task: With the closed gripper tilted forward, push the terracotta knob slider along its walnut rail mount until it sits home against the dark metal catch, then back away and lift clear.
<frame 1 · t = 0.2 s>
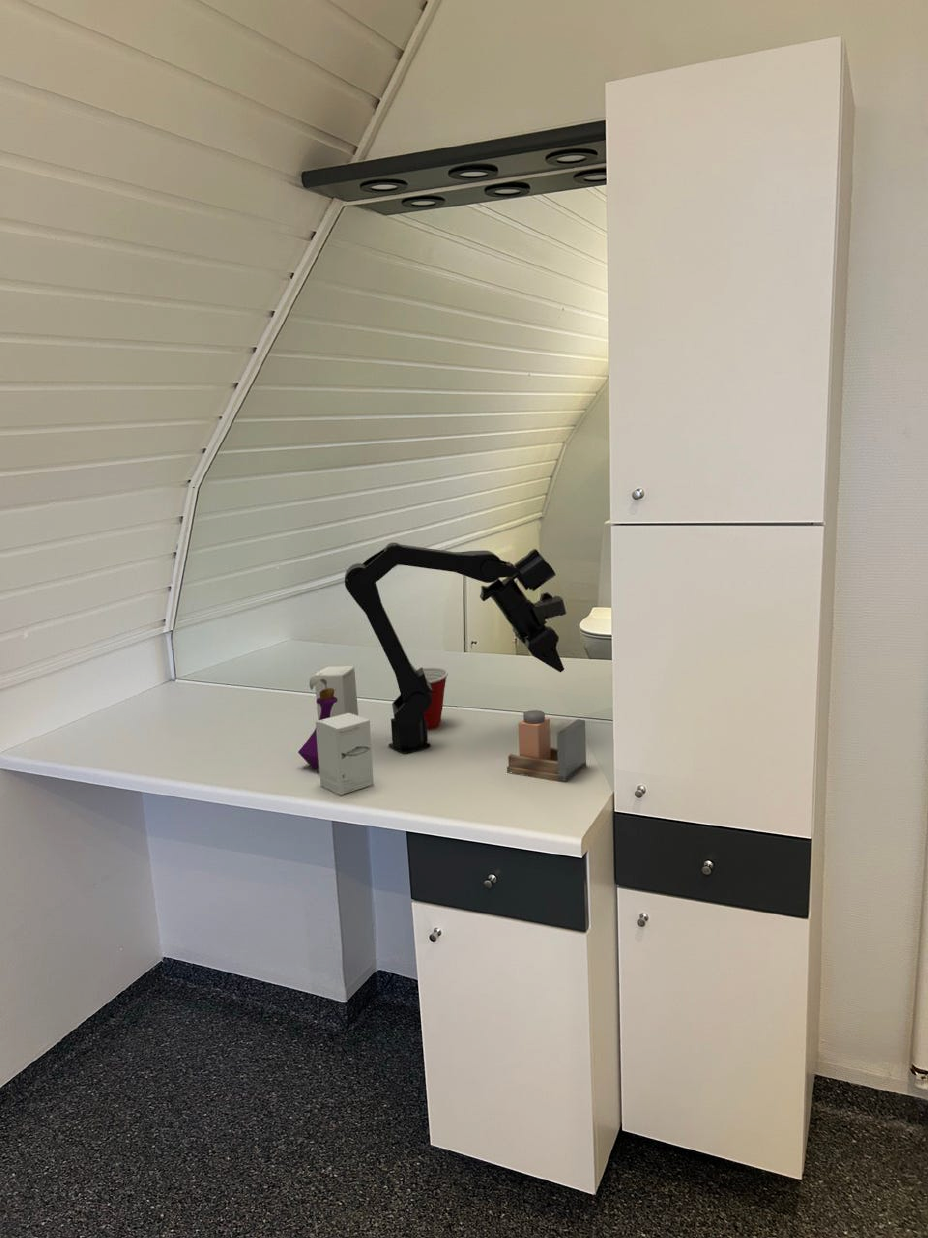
hand: (557, 665, 192), 15 cm above the worktop, tool tilted 35°, fingers open, 9 cm apart
knob slider: (534, 737, 175), point 6 cm above the worktop, slide at 0.0 cm
skincare box: (340, 742, 197), on the worktop
supplement box: (347, 786, 172), on the worktop
perfume bottle: (326, 767, 183), on the worktop
rail mount: (551, 770, 175), on the worktop
plastic cup: (425, 727, 204), on the worktop
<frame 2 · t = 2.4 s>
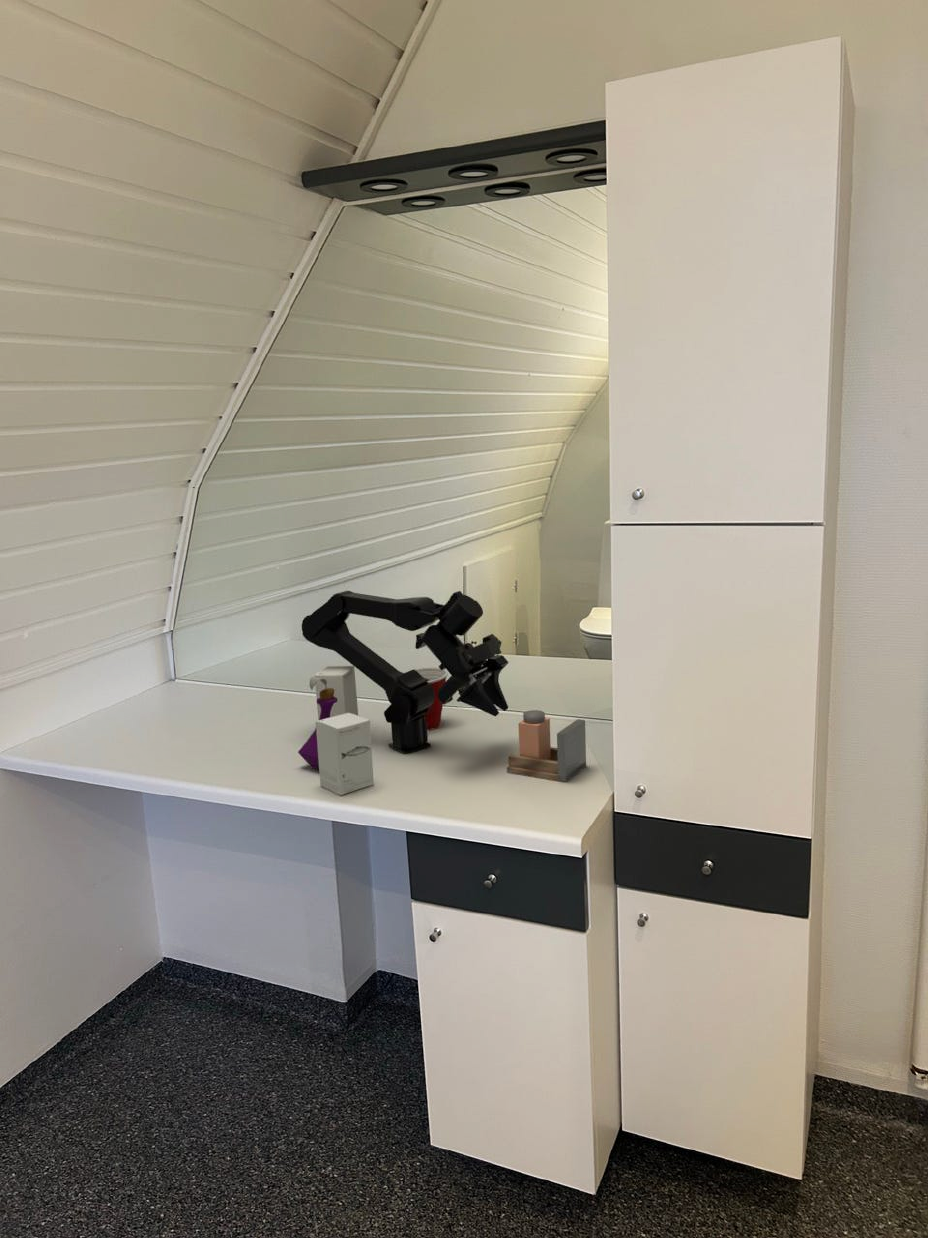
hand: (502, 712, 178), 10 cm above the worktop, tool tilted 45°, fingers open, 3 cm apart
skincare box: (339, 742, 197), on the worktop, touching arm
everything else where it was.
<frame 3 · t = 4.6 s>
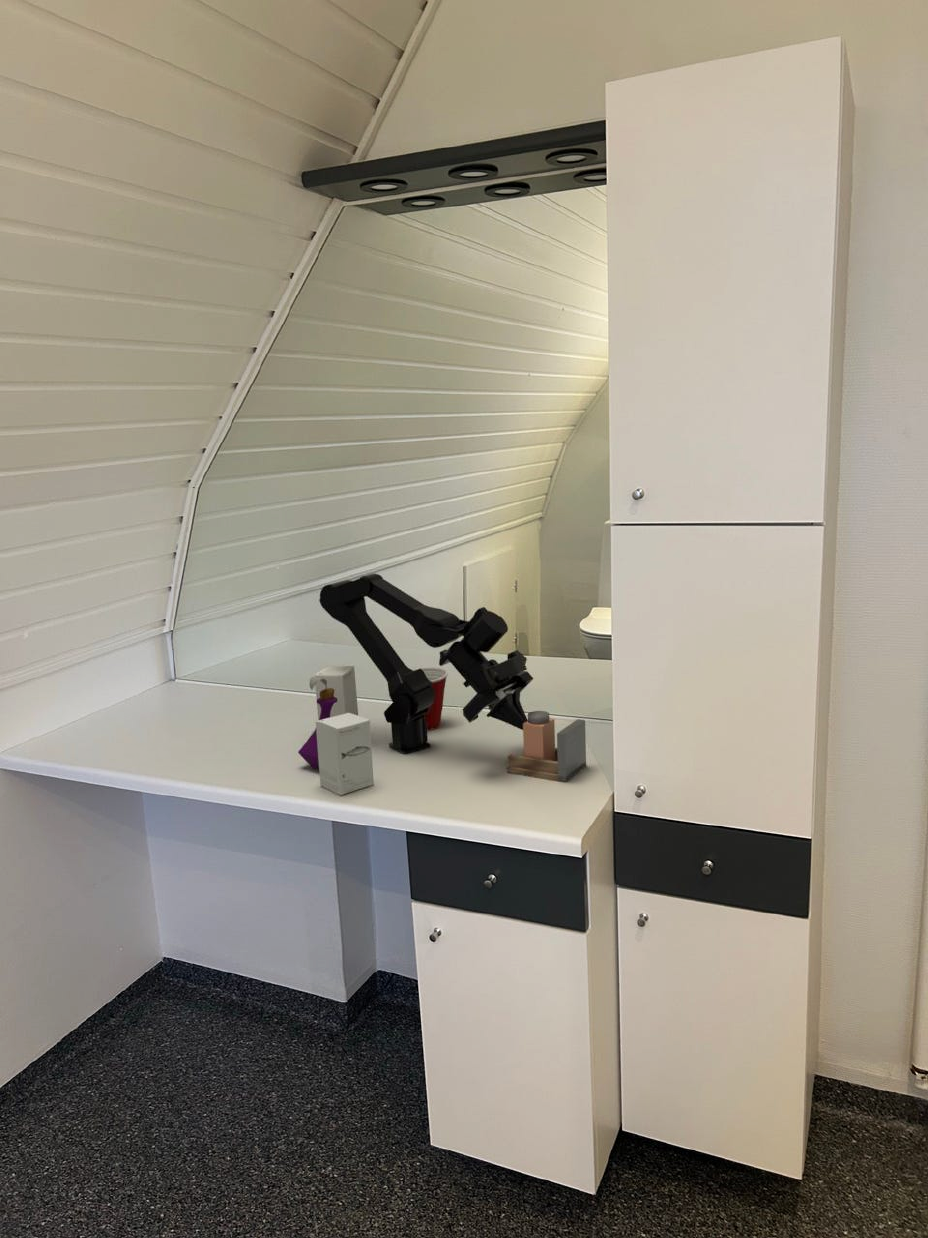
hand: (528, 729, 176), 7 cm above the worktop, tool tilted 45°, fingers closed, pressing on knob slider
knob slider: (539, 738, 175), point 6 cm above the worktop, slide at 0.9 cm, touching gripper
skincare box: (339, 742, 197), on the worktop
everything else where it was.
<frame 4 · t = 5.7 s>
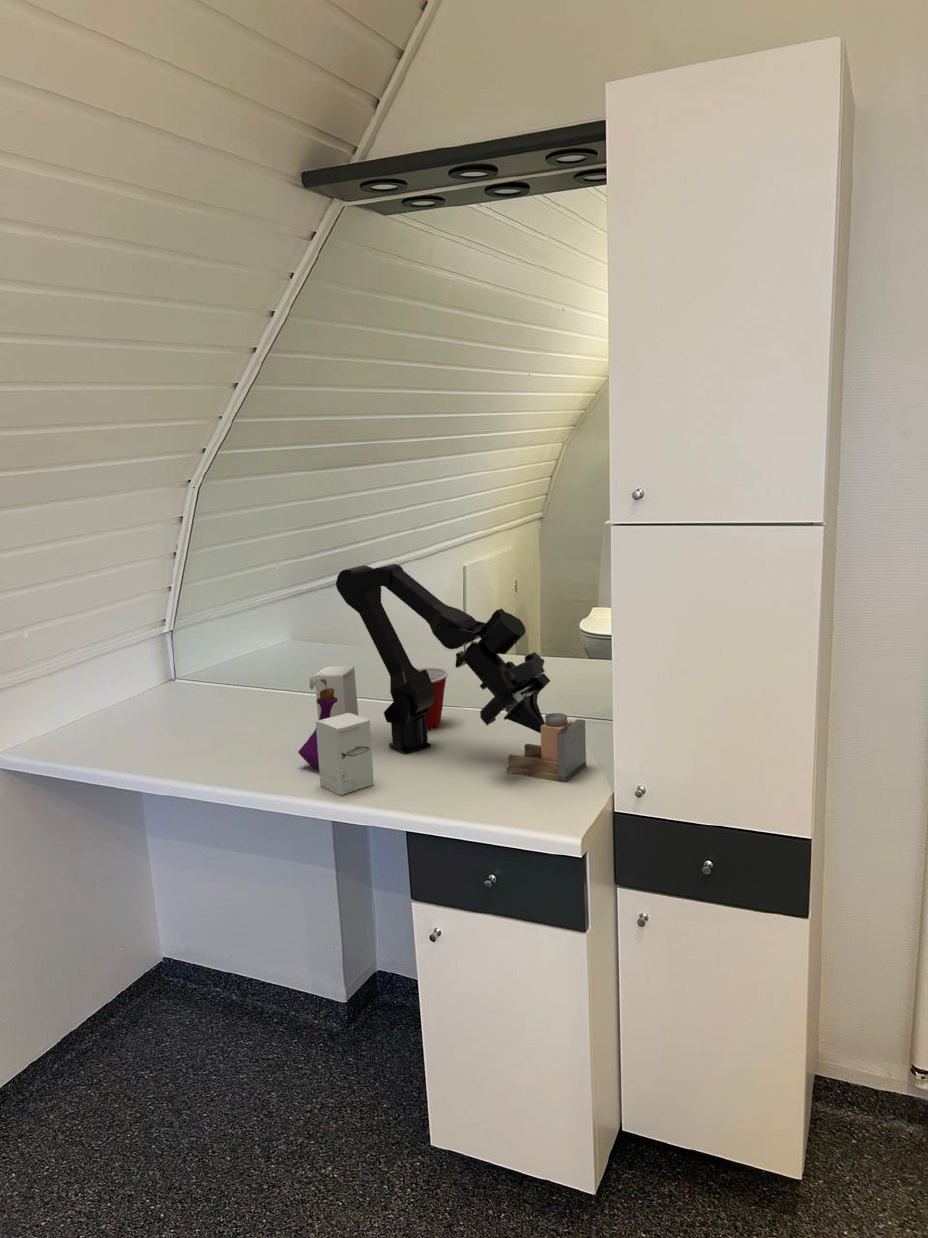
hand: (545, 732, 174), 7 cm above the worktop, tool tilted 45°, fingers closed, pressing on knob slider
knob slider: (556, 740, 173), point 6 cm above the worktop, slide at 4.6 cm, touching gripper
everything else where it was.
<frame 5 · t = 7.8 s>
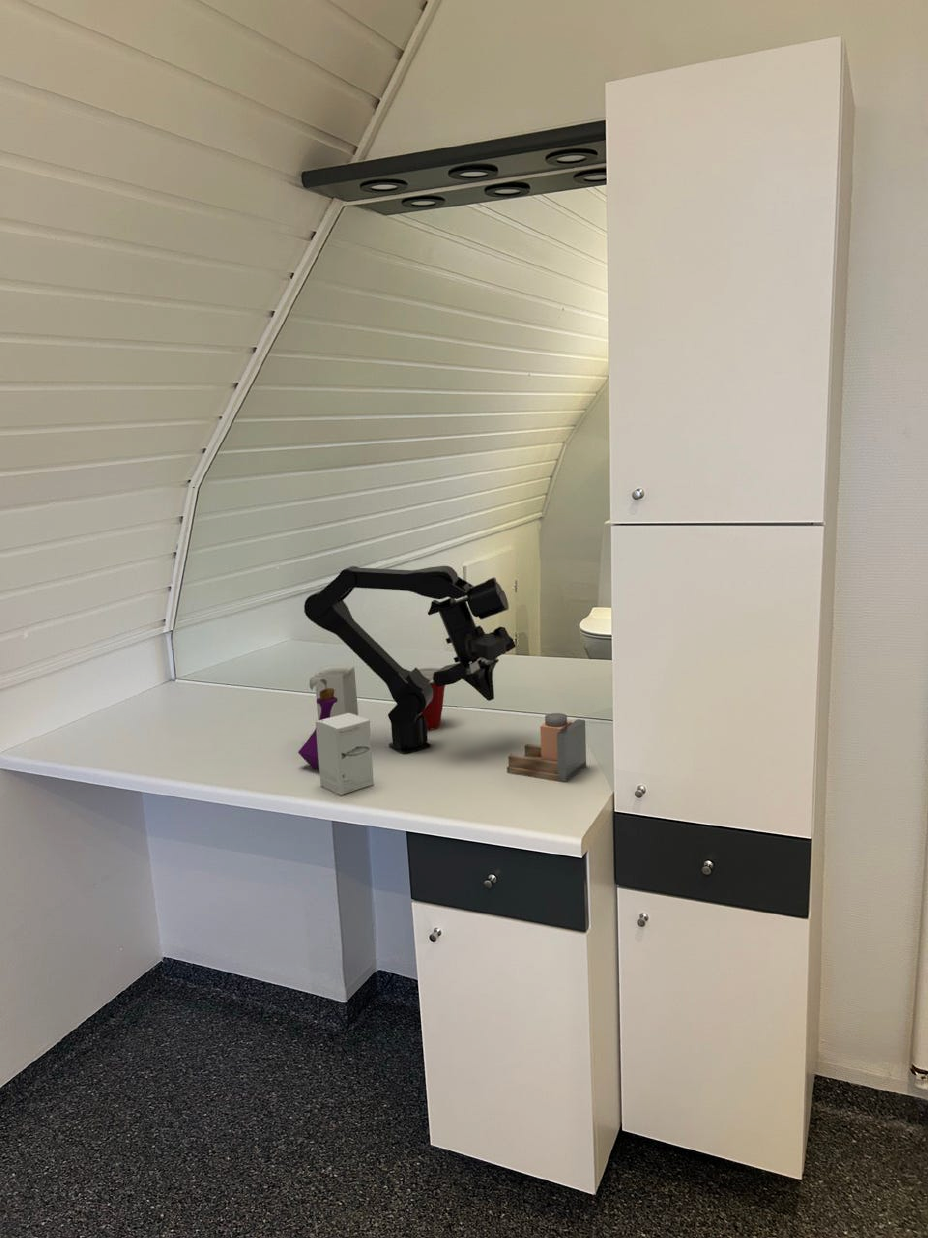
hand: (491, 699, 186), 10 cm above the worktop, tool tilted 20°, fingers closed
knob slider: (556, 740, 173), point 6 cm above the worktop, slide at 4.5 cm
everything else where it was.
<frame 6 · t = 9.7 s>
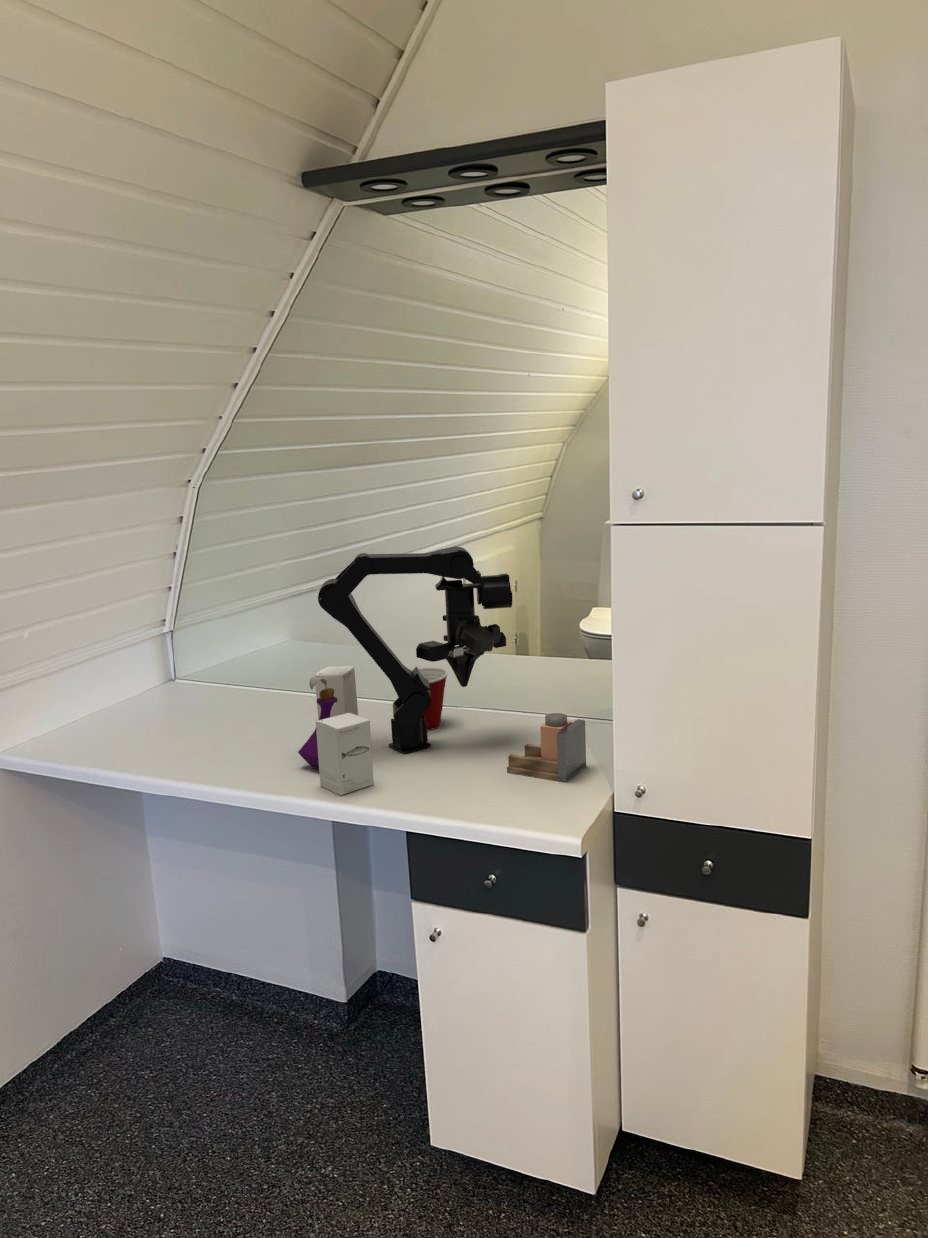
hand: (463, 686, 190), 12 cm above the worktop, tool pointing down, fingers closed
nothing on the worktop moved.
at the end: knob slider slide at 4.5 cm; supplement box moved 0.3 cm from its start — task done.
